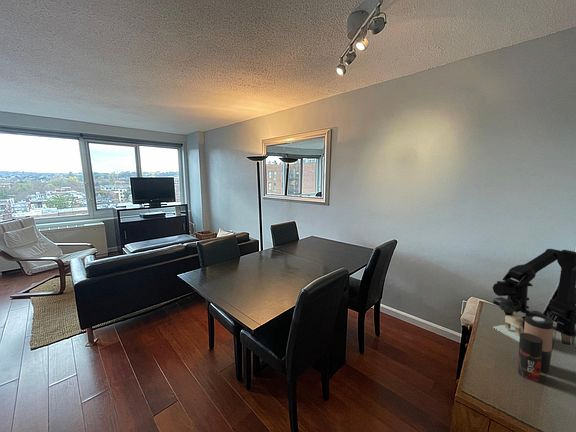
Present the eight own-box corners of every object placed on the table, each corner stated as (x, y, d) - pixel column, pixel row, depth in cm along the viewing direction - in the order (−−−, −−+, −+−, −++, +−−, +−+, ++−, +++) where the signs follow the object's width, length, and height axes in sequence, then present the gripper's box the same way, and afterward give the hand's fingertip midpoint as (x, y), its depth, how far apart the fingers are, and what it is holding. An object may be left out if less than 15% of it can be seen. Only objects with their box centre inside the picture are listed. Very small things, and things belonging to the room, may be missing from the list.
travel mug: (536, 359, 96) (540, 312, 94) (556, 373, 88) (560, 323, 86) (516, 358, 97) (519, 312, 95) (534, 372, 89) (537, 323, 87)
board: (512, 324, 120) (512, 323, 120) (541, 339, 108) (541, 337, 108) (493, 328, 118) (493, 326, 118) (520, 342, 106) (520, 341, 106)
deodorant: (533, 370, 90) (535, 334, 88) (544, 382, 84) (547, 344, 83) (513, 367, 92) (516, 331, 90) (523, 379, 86) (525, 341, 85)
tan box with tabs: (514, 325, 116) (515, 314, 116) (528, 332, 110) (529, 320, 110) (504, 327, 115) (505, 315, 115) (518, 334, 109) (519, 322, 109)
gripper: (484, 288, 119) (483, 317, 120) (528, 305, 100) (526, 339, 102) (502, 286, 121) (501, 314, 122) (548, 302, 102) (546, 336, 104)
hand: (516, 325), depth 113 cm, fingers closed on tan box with tabs, 6 cm apart
